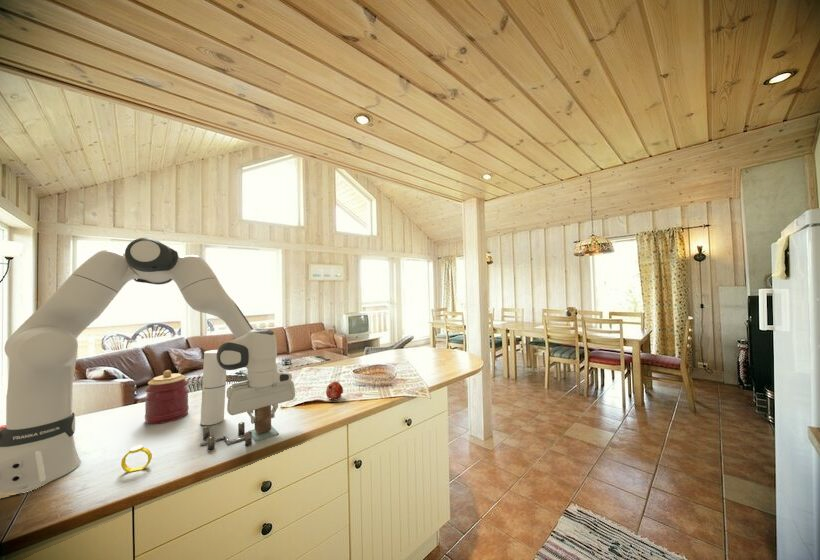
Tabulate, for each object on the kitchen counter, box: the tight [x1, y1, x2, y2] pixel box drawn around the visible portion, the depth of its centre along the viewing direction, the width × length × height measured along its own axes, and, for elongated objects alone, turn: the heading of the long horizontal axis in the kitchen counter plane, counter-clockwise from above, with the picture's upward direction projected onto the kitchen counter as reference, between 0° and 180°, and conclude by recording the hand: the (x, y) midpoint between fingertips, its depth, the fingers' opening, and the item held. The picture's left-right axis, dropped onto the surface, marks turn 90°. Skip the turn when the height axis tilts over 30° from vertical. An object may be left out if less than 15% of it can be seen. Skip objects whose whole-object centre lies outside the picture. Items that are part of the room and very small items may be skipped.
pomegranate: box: [325, 381, 344, 400], centre depth 130 cm, size 7×7×10 cm
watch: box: [120, 444, 153, 473], centre depth 80 cm, size 6×3×6 cm, turn 113°
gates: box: [202, 421, 253, 451], centre depth 95 cm, size 11×16×4 cm
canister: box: [144, 369, 190, 425], centre depth 114 cm, size 13×13×18 cm
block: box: [254, 405, 272, 434], centre depth 100 cm, size 4×4×8 cm
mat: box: [247, 424, 280, 443], centre depth 99 cm, size 7×9×1 cm
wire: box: [199, 435, 245, 447], centre depth 95 cm, size 13×6×1 cm, turn 131°
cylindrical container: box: [200, 349, 227, 426], centre depth 110 cm, size 7×7×25 cm
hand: (263, 420), depth 99 cm, fingers closed on block, 4 cm apart
